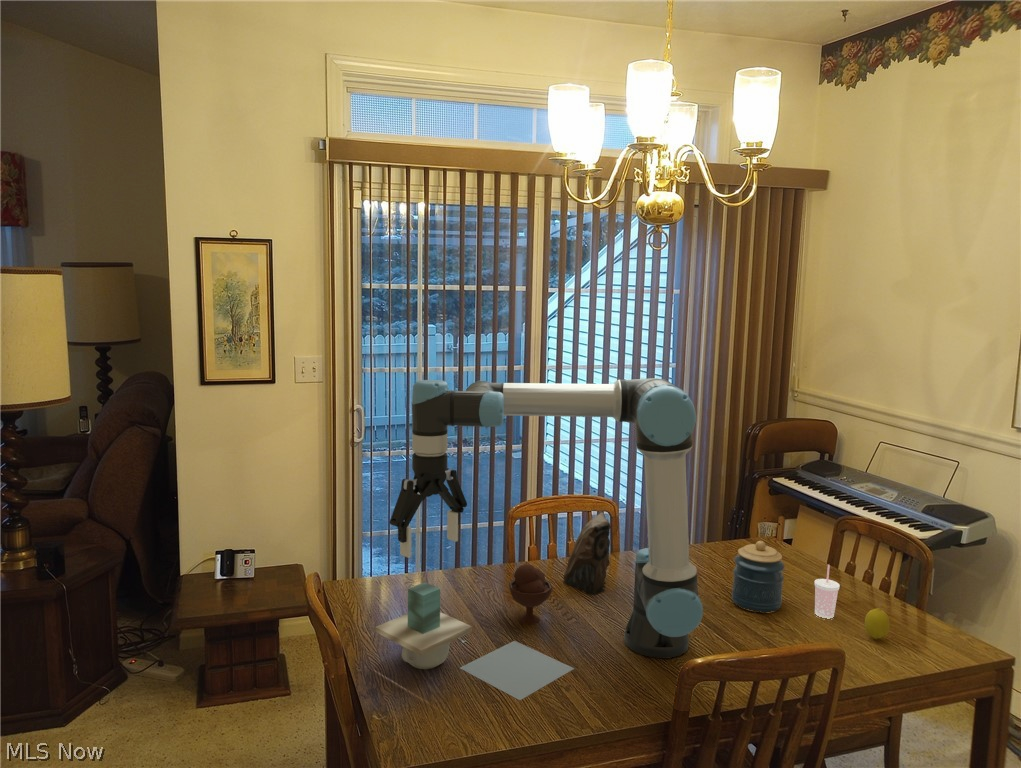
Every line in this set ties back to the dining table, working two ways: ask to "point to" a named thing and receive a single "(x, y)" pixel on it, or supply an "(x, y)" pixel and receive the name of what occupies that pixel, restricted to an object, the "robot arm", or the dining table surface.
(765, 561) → the canister
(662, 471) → the robot arm
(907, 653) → the dining table surface
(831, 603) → the beverage cup
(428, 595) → the lid
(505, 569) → the dining table surface
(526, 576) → the ice cream bowl
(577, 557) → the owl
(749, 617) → the dining table surface
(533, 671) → the mat
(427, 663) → the teacup
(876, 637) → the lemon
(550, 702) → the dining table surface
